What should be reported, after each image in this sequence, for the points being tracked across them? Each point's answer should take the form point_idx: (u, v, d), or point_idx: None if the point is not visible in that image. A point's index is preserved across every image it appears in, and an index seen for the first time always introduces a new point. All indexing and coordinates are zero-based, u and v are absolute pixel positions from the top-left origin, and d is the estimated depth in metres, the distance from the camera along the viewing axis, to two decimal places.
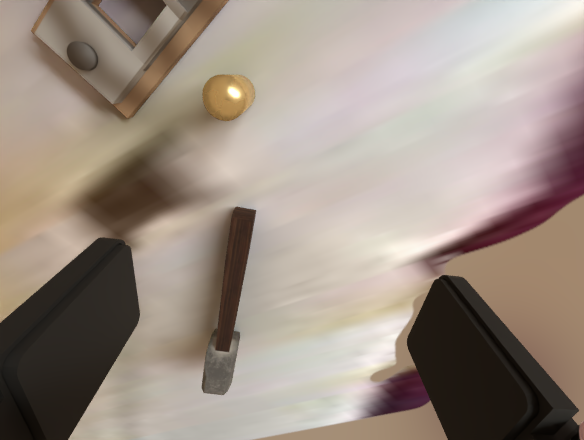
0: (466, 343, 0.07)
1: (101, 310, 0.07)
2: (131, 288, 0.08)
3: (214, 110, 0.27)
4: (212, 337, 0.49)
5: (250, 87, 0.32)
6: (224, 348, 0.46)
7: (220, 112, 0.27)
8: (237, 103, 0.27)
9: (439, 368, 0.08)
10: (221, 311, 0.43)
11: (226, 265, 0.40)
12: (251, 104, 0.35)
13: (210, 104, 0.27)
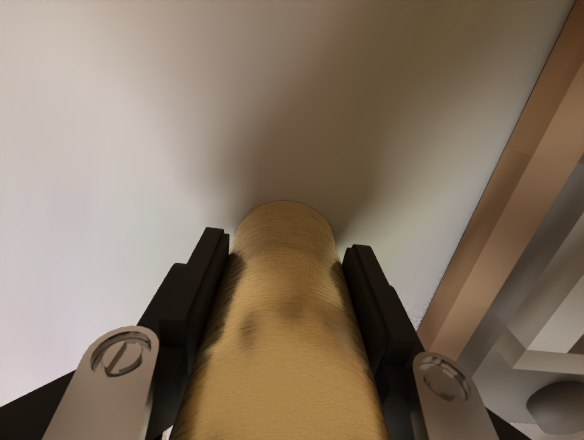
0: (356, 299, 0.08)
1: None
2: None
3: None
4: None
5: None
6: None
7: None
8: None
9: None
10: None
11: None
12: None
13: None
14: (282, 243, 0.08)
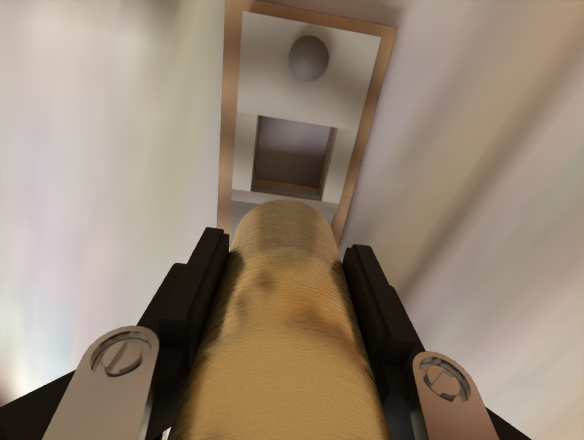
0: (356, 299, 0.08)
1: None
2: None
3: None
4: None
5: None
6: None
7: None
8: None
9: None
10: None
11: None
12: None
13: None
14: (282, 242, 0.08)
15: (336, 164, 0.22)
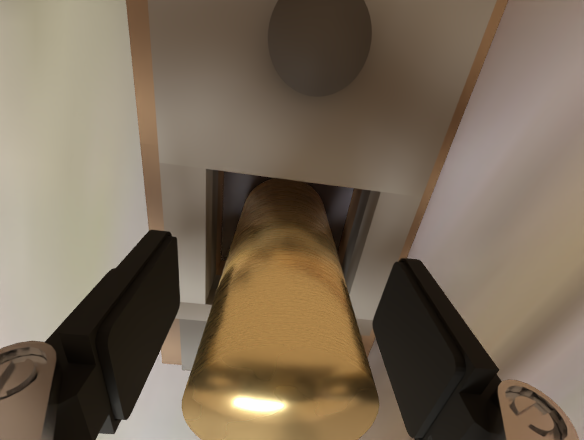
0: (415, 318, 0.07)
1: (157, 295, 0.07)
2: (176, 277, 0.09)
3: (285, 366, 0.05)
4: None
5: None
6: None
7: (256, 375, 0.05)
8: (222, 427, 0.06)
9: (395, 344, 0.08)
10: None
11: None
12: None
13: (317, 374, 0.05)
14: (283, 204, 0.10)
15: (373, 257, 0.11)
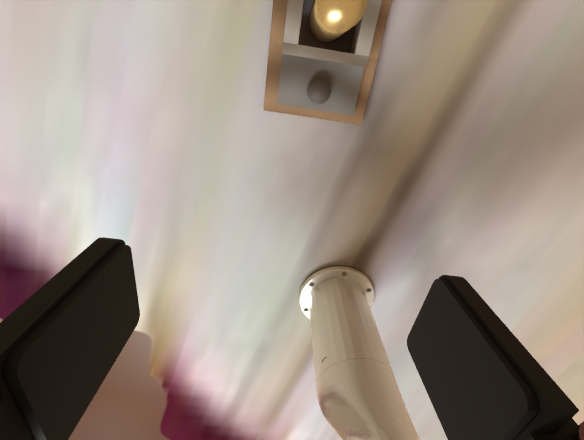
0: (466, 343, 0.07)
1: (101, 310, 0.07)
2: (131, 288, 0.08)
3: None
4: None
5: (321, 35, 0.29)
6: None
7: None
8: (326, 8, 0.23)
9: (439, 368, 0.08)
10: None
11: None
12: None
13: None
14: None
15: (368, 17, 0.28)
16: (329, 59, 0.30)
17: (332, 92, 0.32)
